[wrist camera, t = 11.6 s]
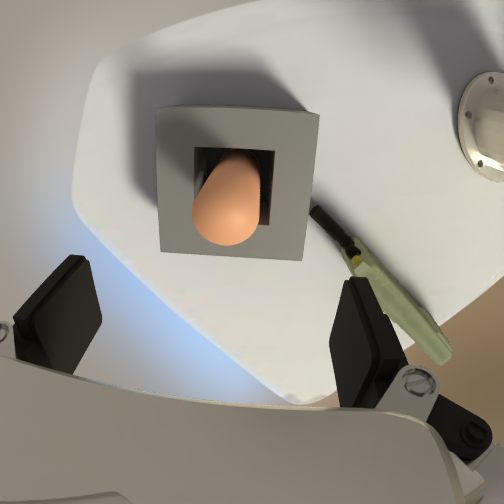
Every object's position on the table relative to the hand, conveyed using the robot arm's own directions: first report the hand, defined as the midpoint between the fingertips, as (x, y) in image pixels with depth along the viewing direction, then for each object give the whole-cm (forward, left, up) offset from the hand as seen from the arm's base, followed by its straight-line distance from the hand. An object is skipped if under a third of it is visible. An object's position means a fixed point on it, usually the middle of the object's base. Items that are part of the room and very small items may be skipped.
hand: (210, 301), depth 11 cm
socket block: (0, 0, -21) cm, 21 cm away
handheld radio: (-17, +11, -21) cm, 29 cm away
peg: (0, 0, -21) cm, 21 cm away
